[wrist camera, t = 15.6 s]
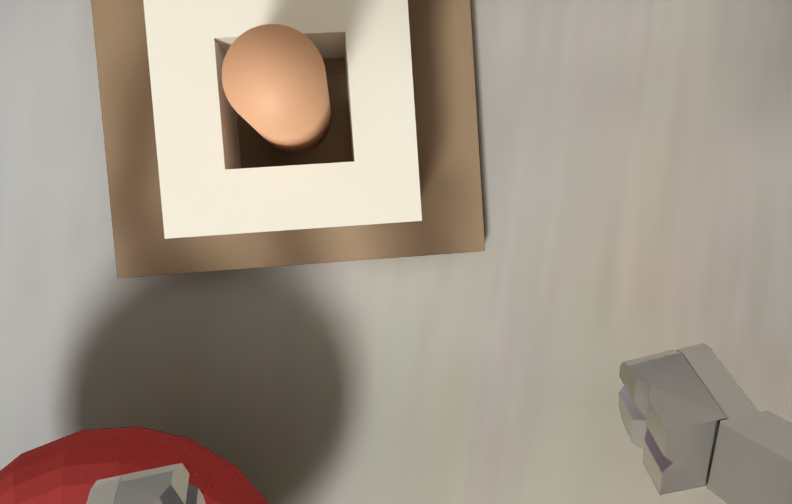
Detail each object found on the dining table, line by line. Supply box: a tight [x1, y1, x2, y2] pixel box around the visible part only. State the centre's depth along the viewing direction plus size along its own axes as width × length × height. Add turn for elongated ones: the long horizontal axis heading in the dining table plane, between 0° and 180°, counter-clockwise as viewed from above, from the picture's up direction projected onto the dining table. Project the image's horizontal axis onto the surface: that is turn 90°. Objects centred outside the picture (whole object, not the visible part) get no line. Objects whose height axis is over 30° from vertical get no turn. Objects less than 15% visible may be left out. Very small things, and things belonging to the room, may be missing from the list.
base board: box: [91, 0, 485, 278], centre depth 36 cm, size 20×16×1 cm
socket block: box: [143, 0, 422, 239], centre depth 33 cm, size 12×12×5 cm
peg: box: [222, 24, 331, 153], centre depth 30 cm, size 4×4×10 cm
